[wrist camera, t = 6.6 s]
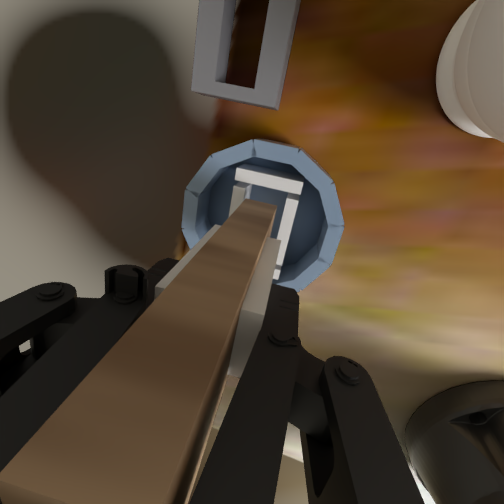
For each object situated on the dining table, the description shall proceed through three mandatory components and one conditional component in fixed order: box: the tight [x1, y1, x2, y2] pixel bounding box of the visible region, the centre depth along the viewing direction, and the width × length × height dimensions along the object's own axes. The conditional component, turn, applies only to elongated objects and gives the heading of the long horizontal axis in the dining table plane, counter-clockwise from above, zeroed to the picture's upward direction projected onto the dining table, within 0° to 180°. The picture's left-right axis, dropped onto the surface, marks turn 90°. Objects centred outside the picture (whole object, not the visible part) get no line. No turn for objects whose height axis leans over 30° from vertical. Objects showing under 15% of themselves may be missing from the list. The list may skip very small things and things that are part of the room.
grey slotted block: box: [191, 0, 301, 110], centre depth 18 cm, size 7×6×2 cm
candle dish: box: [181, 138, 344, 292], centre depth 22 cm, size 11×11×4 cm
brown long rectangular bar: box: [0, 198, 277, 504], centre depth 11 cm, size 4×2×16 cm, turn 169°
